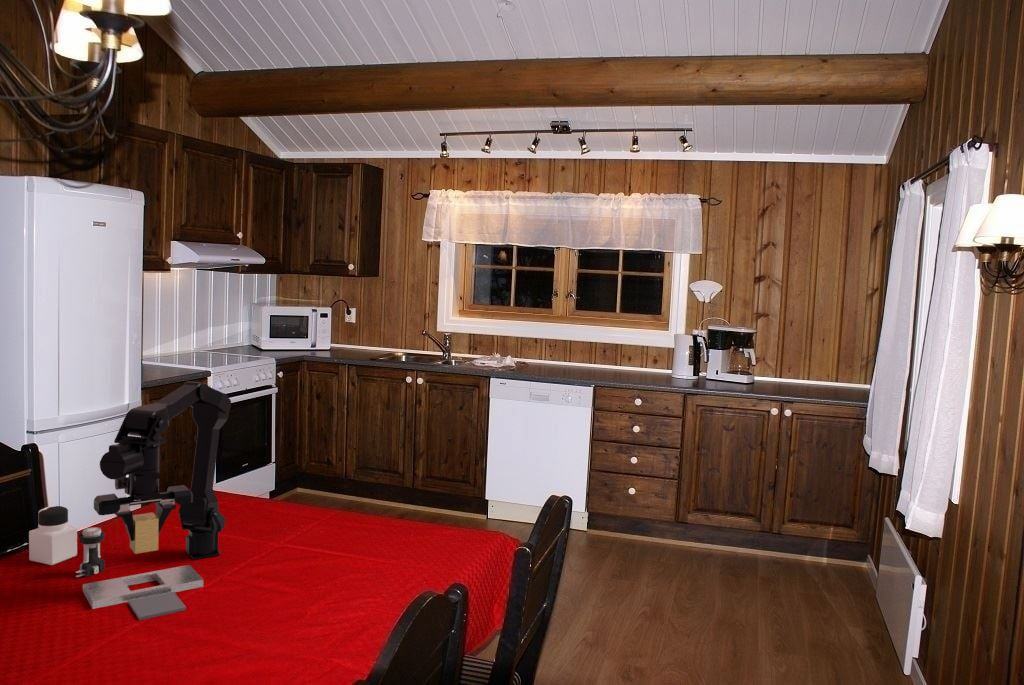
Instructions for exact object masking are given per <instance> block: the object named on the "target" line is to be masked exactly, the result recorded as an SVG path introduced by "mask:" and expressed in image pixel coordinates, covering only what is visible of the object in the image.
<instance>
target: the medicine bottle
mask: <svg viewBox="0 0 1024 685" xmlns="http://www.w3.org/2000/svg"><path fill="white" fill-rule="evenodd" d="M37 515H38V516H37V517H38V518H37V519H38V520H37V521H38V526H37V528H35V529H32V530H29V532H28V548H29V549H28V552H29V553H28V554H29V555H28V556H29V557H28V560H29V561H32V562H34V563H35V562H36V563H41V564H45V565H49V566H53V565H57V564H59V563H62V562H64V561H67V560H69V559H71V558H74V557H76V556H77V555H78V527H77V526H75V525H70V524H69V508H67V507H64V506H60V505H51V506H46V507H44V508H42V509H39V510H38V514H37Z"/></svg>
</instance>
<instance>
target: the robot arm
mask: <svg viewBox="0 0 1024 685" xmlns="http://www.w3.org/2000/svg"><path fill="white" fill-rule="evenodd" d="M190 407H191V408H192V418H193V420H194V423H195V425H196V426H197V435H196V443H195V450H194V451H195V453H194V460H193V469H192V477H191V486H190V489H189V487H187V486H186V485H185V484H182V485H174V486H173V485H172V486H168V487H167V489H166V491H164V492H160V479H161V473H160V445H162V444H164V443H166V439H164V438H163V437H162V436H161V435H162V434H163V433H164V432H165V431H166V430H167V429H168V428H169V426H170V421H171V420H172V419H173V418H175V417H176V416H178V415H179V414H180V413H182V412H184V411H185V410H187V409H188V408H190ZM231 408H232V400H231V399H230V397H229V396H228V394H227V393H225V392H224V393H223V392H222V391H220V390H217V389H215V388H213V387H211V386H209V385H208V384H207V383H205V382H201V381H192V380H191V381H189V380H188V381H185V382H183V383H182V385H181V386H180V387H178V388H176V389H175V390H173V391H172V392H170V393H169V394H166V395H165V396H163V397H162V398H161V399H159V400H157V401H155V402H154V403H149V404H143V405H140V406H139V405H138V406H136V407H133V408H131V409H130V410H128V411H127V413H125V414H126V415H125V416H124V419H123V421H122V422H121V426H120V427H119V429H118V432H117V434H116V437H115V438H114V441H113V442H114V444H111V445H108V451H107V452H105V453H104V454H103V455H102V456H101V458H100V460H99V469H100V471H101V474H102V475H103V476H105V477H106V478H107V479H110V480H114V488H115V490H117V491H118V490H124V494H127V495H129V496H123V497H118V496H117V495H116V494H115V493H109V494H99V495H96V496H95V497H94V499H93V510H95V512H96V513H97V514H98V515H99V516H108V515H115V516H116V517H117V518H121V520H122V522H123V524H124V526H125V529H126V532H127V534H128V537H129V538H128V539H129V541H130V540H131V541H133V538H134V528H133V515H134V514H133V512H132V510H130V508H131V506H138V505H145V504H153V503H155V515H156V516H157V517H158V518H159V520H158V536H159V535H160V533H161V531H162V528H163V526H164V524H165V523H166V520H167V518H168V516H169V515H170V514H171V512H172V511H173V510H175V509H177V505H178V506H179V510H178V516H179V520H180V521H179V522H180V524H181V527H182V530H184V531H185V530H186V531H188V535H186V536H185V552H186V553H187V555H188V556H189V557H190V558H191V559H193V560H198V559H203V558H205V559H206V558H210V557H216V556H220V555H221V551H220V550H219V533H220V532H222V531H223V529H225V525H226V519H227V518H225V517H224V515H223V514H222V513H221V512H220V510H219V498H218V497H217V495H216V493H215V490H214V481H215V473H216V465H217V464H216V463H217V457H218V456H217V455H218V449H219V447H218V446H219V437H220V431H221V428H222V427H223V426H224V424H225V423H226V422H227V421H228V419H229V416H230V410H231ZM127 475H128V476H127ZM175 503H176V504H177V505H176V504H175Z"/></svg>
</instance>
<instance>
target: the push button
mask: <svg viewBox="0 0 1024 685" xmlns="http://www.w3.org/2000/svg"><path fill="white" fill-rule="evenodd" d="M105 536H106V532H105V531H103V530H102V529H101V527H97V526H94V527H87V528H84V529H83V530H82V532H80V533H79V534H77V538H78V539H79V543H81V544H82V545H83V561H82V563H80V565H79V570H78V571H75V573H77V575H75V577H76V578H79V577H89V576H93V575H96V574H97V575H98V573H100V572H102V573H103V572H104V571H105V566H106V565H105V562H106V561H105V560H106V559H103V558H101V557H102V556H101V542H103V541H104V540H105Z"/></svg>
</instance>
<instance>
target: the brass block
mask: <svg viewBox="0 0 1024 685" xmlns="http://www.w3.org/2000/svg"><path fill="white" fill-rule="evenodd" d="M158 520H159V518H158V517H157V516H156V513H154V512H147V513H140V514H139V513H138V514H133V528H134V538H133V541H131V540H130V539H129V548H130V549H131V550H132V552H133V553H134V554H135V555H137V554H142V553H149V552H154V551H159V535H158Z"/></svg>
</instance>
